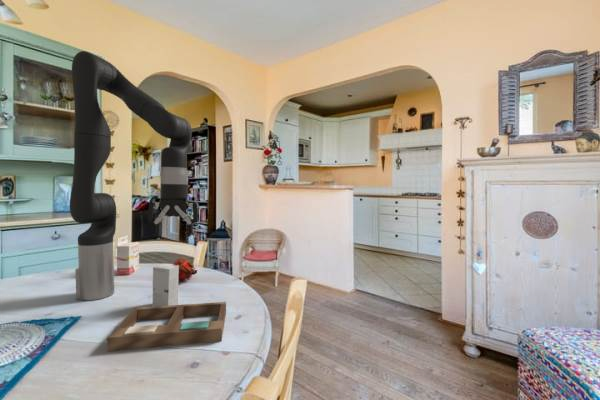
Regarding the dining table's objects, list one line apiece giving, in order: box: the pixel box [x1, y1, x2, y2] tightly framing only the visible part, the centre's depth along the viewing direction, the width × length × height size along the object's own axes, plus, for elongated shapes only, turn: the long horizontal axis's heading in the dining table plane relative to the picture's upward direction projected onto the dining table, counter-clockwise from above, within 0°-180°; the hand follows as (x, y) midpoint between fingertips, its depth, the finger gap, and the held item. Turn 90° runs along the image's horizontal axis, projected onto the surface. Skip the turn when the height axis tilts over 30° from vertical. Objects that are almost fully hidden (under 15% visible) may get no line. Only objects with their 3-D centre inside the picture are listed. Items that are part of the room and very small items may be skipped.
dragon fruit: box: [172, 258, 198, 283], centre depth 108 cm, size 8×8×12 cm
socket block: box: [106, 301, 227, 352], centre depth 71 cm, size 24×15×3 cm, turn 101°
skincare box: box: [152, 263, 179, 307], centre depth 84 cm, size 6×4×12 cm
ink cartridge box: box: [116, 235, 140, 276], centre depth 116 cm, size 9×5×15 cm, turn 5°
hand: (174, 236), depth 86 cm, fingers open, 8 cm apart
